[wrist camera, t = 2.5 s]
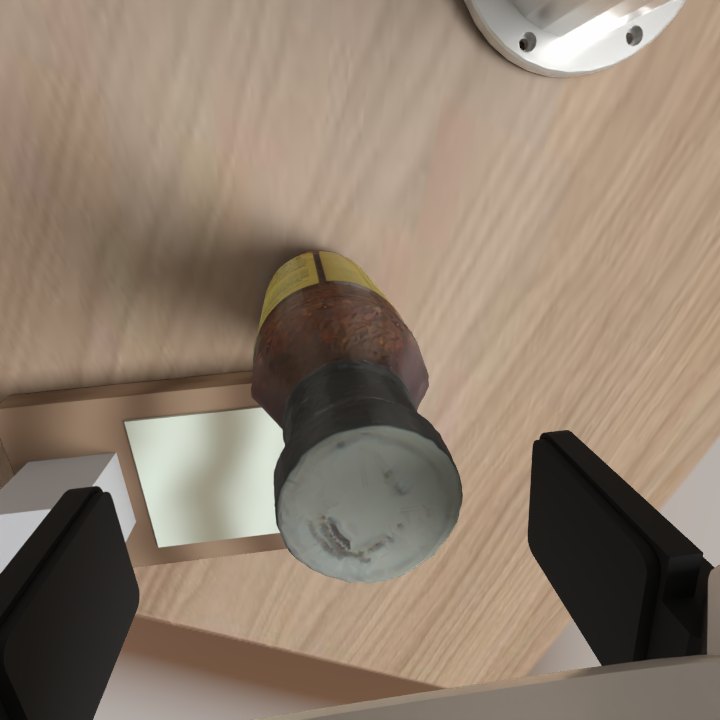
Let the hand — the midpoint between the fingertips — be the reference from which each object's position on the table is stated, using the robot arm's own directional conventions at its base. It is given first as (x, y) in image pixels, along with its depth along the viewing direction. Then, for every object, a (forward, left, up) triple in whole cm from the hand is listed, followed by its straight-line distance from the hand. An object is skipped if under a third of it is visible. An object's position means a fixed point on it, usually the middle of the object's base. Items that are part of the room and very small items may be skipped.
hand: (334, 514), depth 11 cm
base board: (+11, +10, -19) cm, 24 cm away
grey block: (+15, +10, -17) cm, 25 cm away
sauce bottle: (0, 0, -19) cm, 19 cm away
